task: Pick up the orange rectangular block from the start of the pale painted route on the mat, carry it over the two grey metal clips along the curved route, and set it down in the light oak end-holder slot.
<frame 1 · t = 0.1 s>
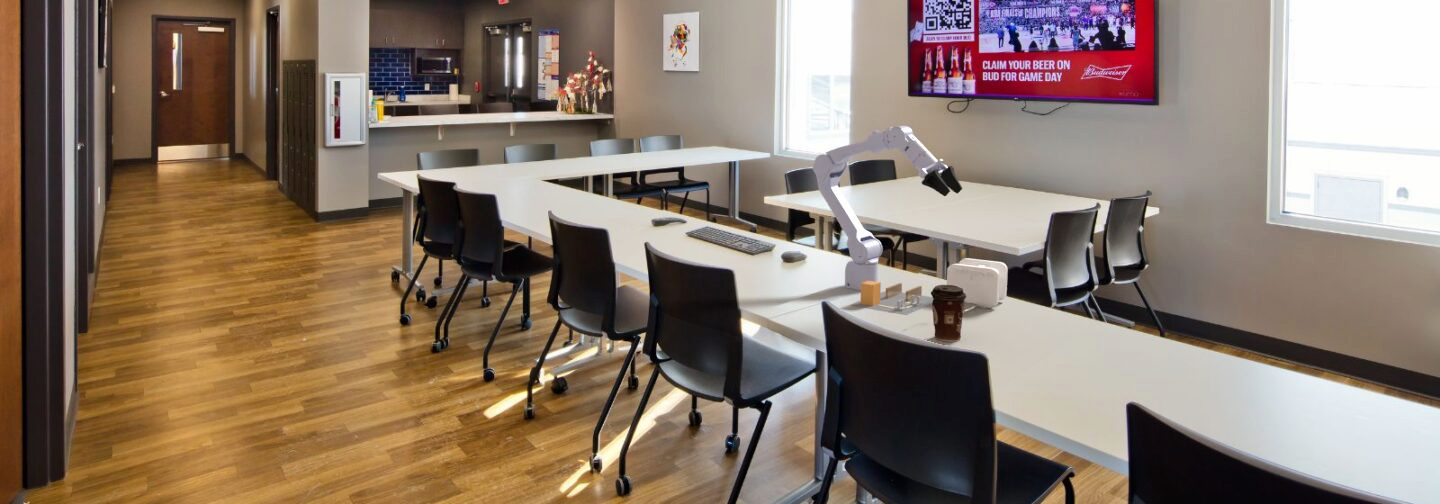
hand: (953, 192, 258), 32 cm above the table, tool tilted 50°, fingers open, 7 cm apart
orange rectangular block: (870, 303, 262), point 1 cm above the table, touching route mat
cable organizer: (976, 303, 265), on the table
end holder: (903, 297, 269), resting on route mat
coffee cup: (946, 339, 231), on the table
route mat: (896, 305, 264), on the table
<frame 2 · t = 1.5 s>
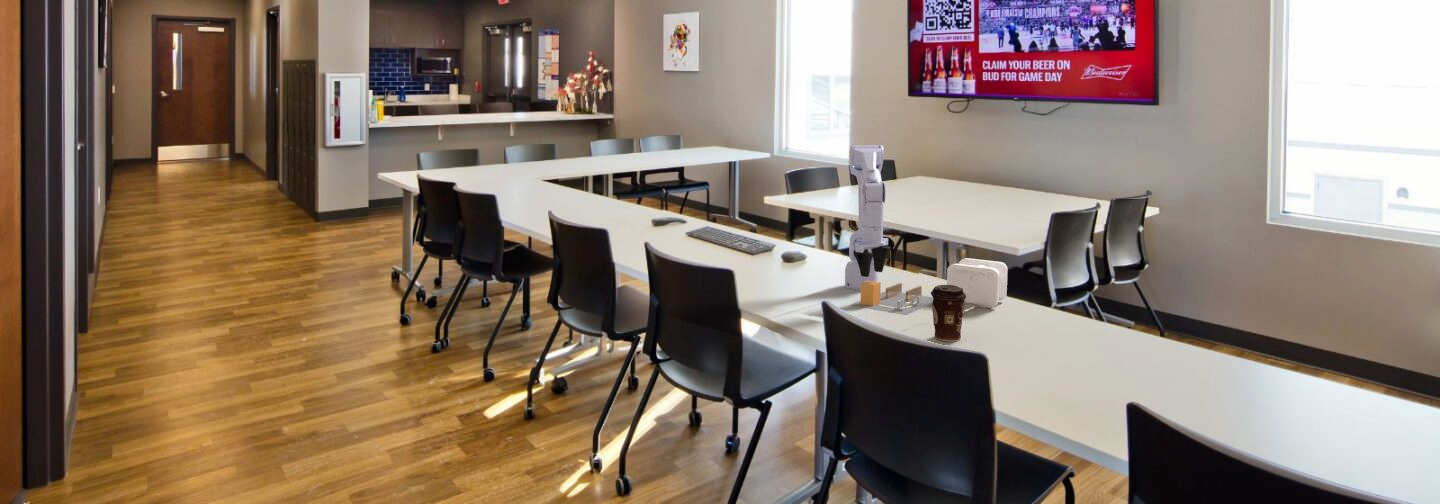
hand: (871, 274, 260), 10 cm above the table, tool pointing down, fingers open, 7 cm apart
nothing on the table moved.
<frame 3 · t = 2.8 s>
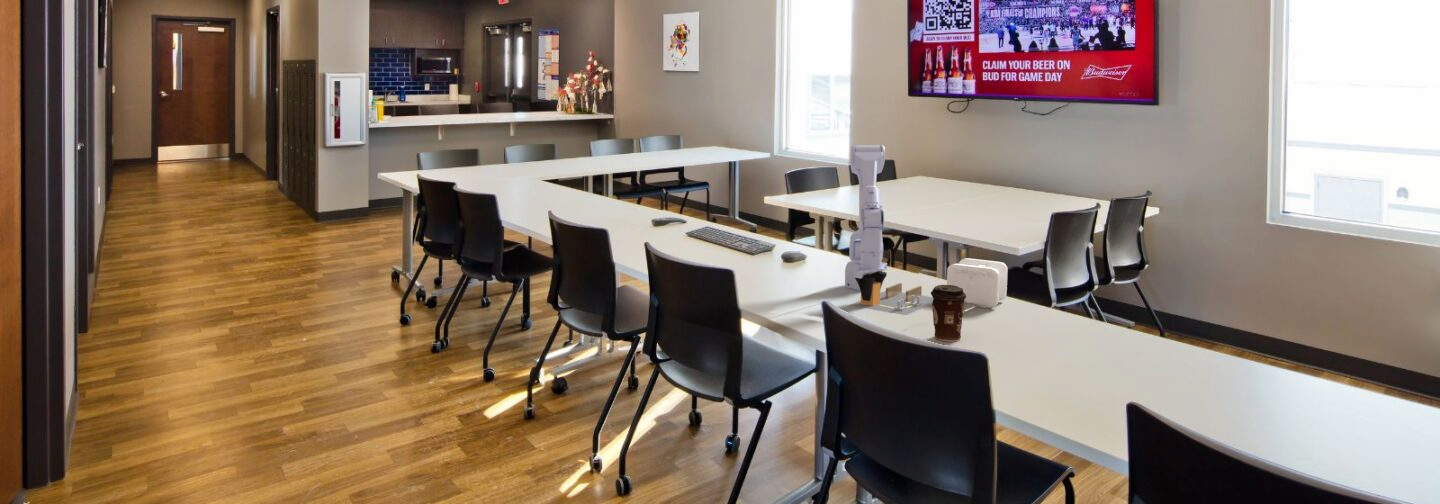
hand: (870, 298, 262), 2 cm above the table, tool pointing down, fingers closed on orange rectangular block, 4 cm apart
orange rectangular block: (870, 303, 262), point 1 cm above the table, touching gripper, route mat
everything else where it was.
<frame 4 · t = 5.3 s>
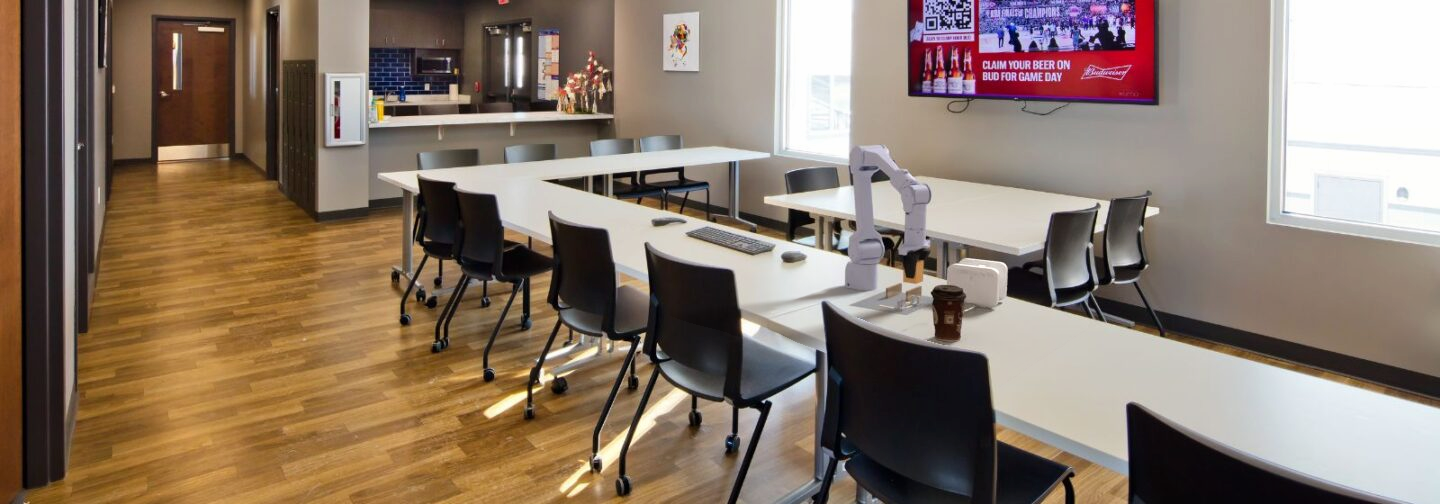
hand: (913, 276, 257), 9 cm above the table, tool pointing down, fingers closed on orange rectangular block, 4 cm apart
orange rectangular block: (913, 281, 258), point 8 cm above the table, touching gripper
everything else where it was.
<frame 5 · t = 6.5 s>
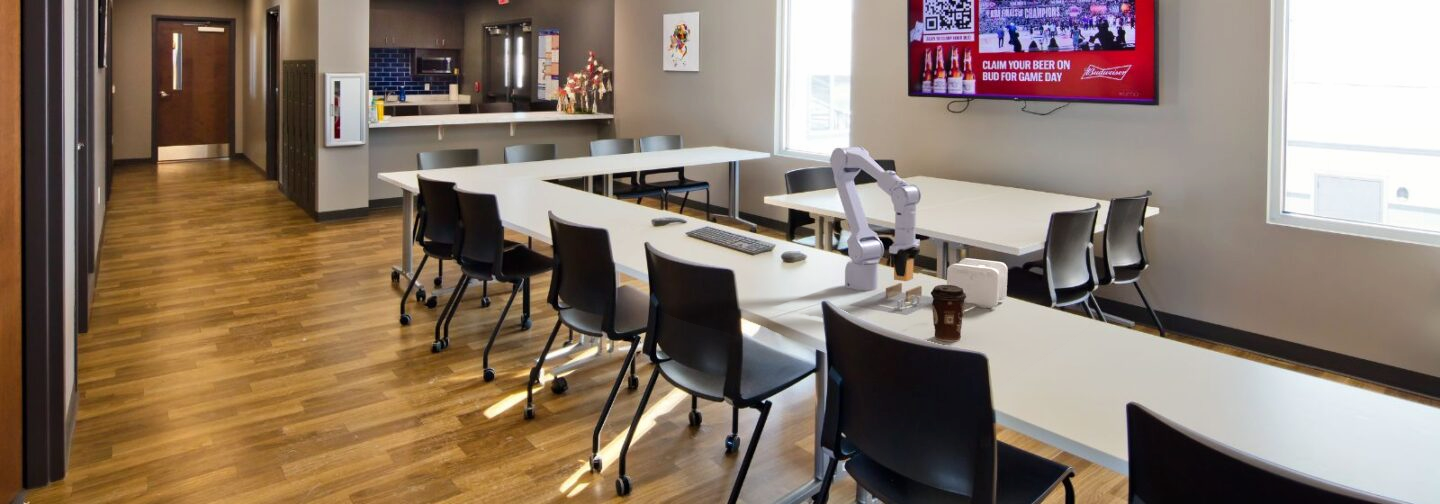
hand: (904, 274, 267), 8 cm above the table, tool pointing down, fingers closed on orange rectangular block, 4 cm apart
orange rectangular block: (903, 279, 268), point 6 cm above the table, touching gripper
everything else where it was.
when the fingers open (4 cm above the table, at t = 7.6 s): orange rectangular block drops 2 cm, resting on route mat.
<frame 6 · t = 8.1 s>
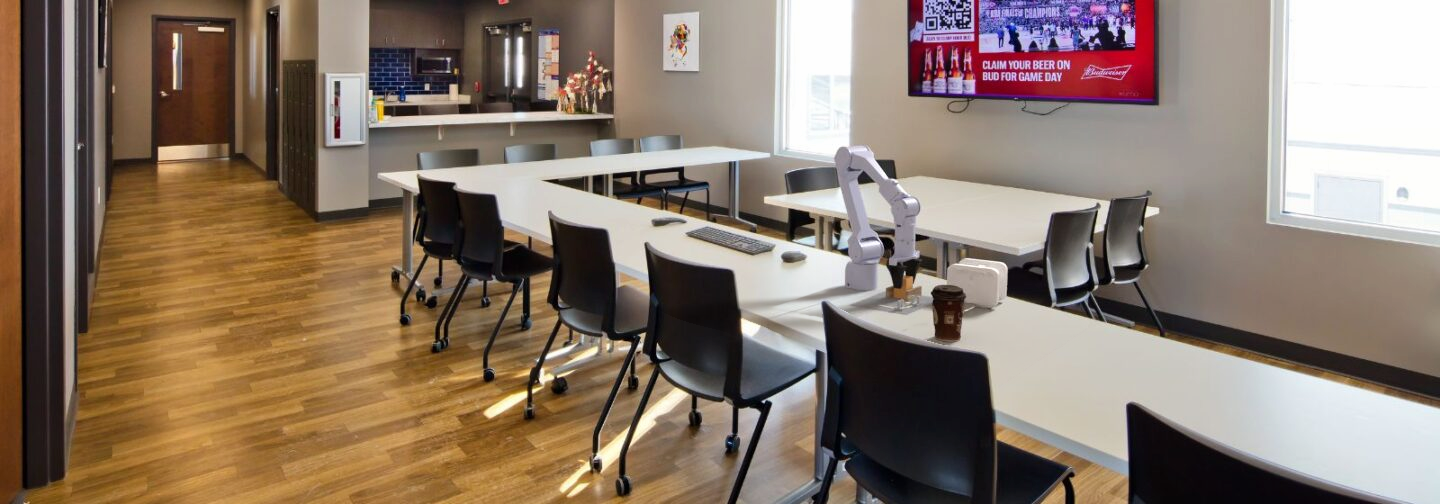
hand: (903, 285, 268), 4 cm above the table, tool pointing down, fingers open, 7 cm apart
orange rectangular block: (903, 297, 269), point 1 cm above the table, touching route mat
everything else where it was.
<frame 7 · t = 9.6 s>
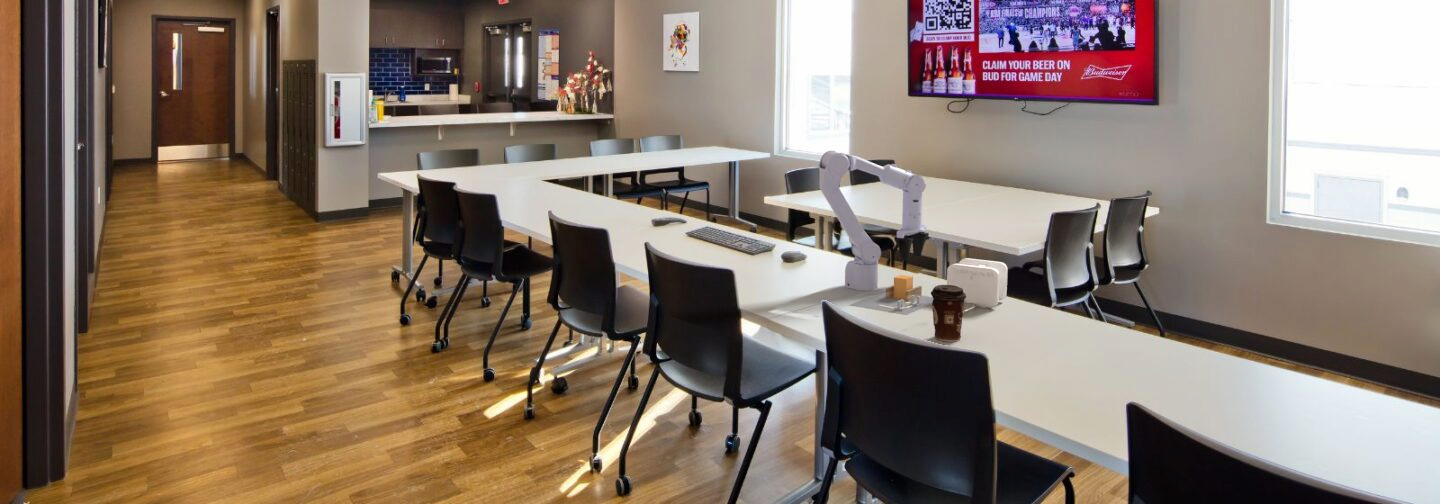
hand: (911, 258, 282), 9 cm above the table, tool pointing down, fingers open, 7 cm apart
nothing on the table moved.
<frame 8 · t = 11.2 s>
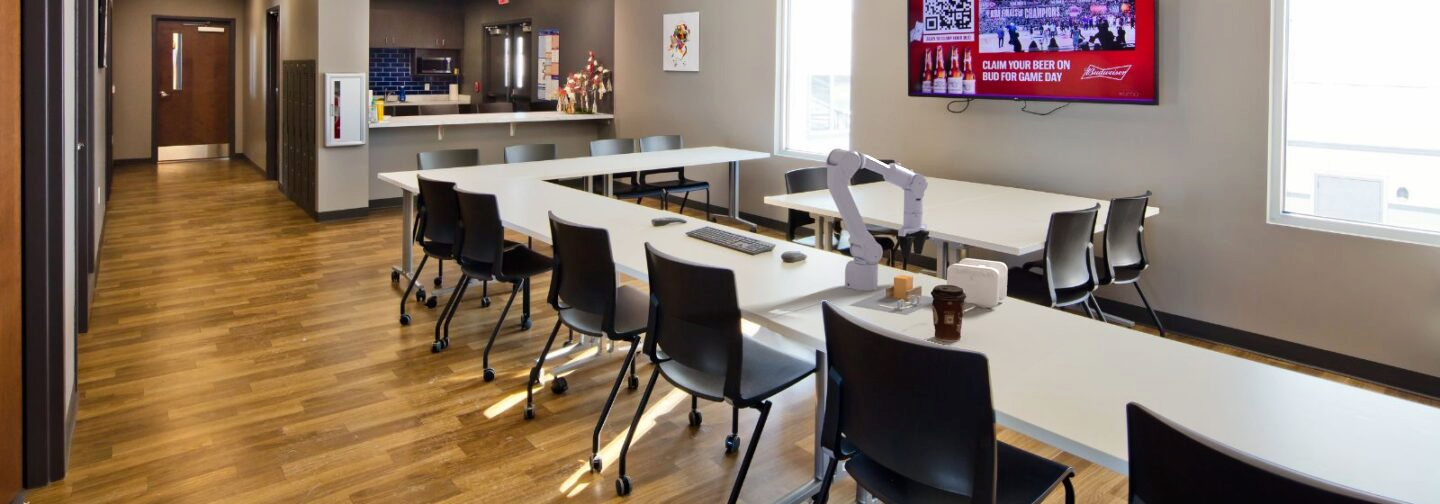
hand: (912, 256, 285), 9 cm above the table, tool pointing down, fingers open, 7 cm apart
nothing on the table moved.
at the end: orange rectangular block 0.2 cm off-centre on the end holder, point 0.0 cm above the end holder's base; orange rectangular block tilted 0°; the gripper is holding nothing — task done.
